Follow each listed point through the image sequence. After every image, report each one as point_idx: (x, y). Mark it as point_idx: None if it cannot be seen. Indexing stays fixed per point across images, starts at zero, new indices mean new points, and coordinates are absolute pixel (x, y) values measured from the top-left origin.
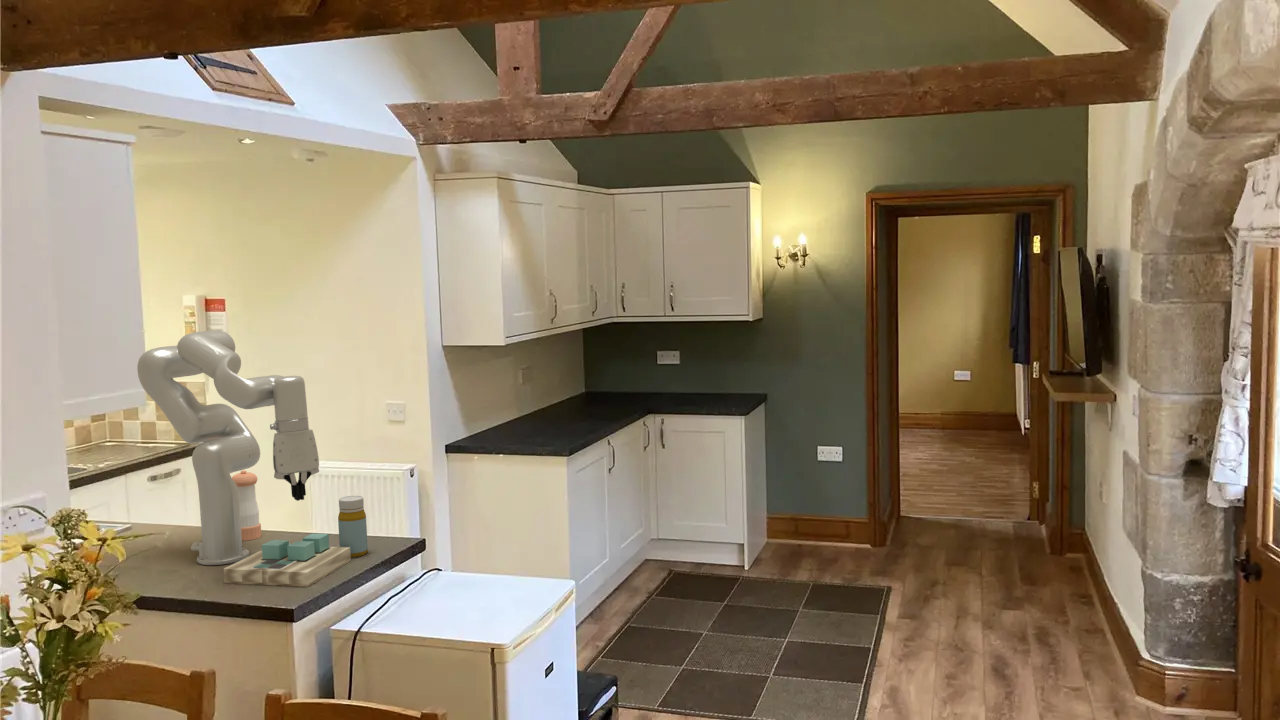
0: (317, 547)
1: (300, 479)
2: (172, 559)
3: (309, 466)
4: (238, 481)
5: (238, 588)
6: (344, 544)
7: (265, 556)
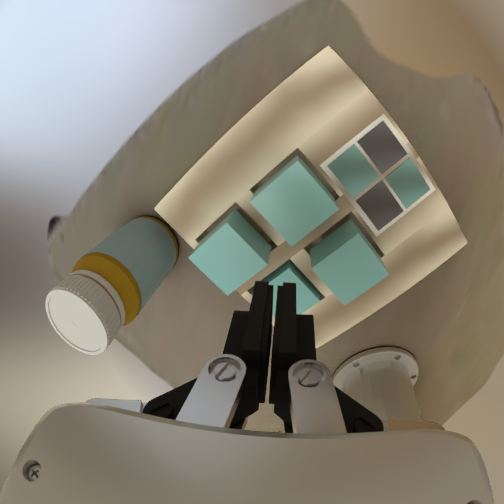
0: (237, 218)
1: (241, 403)
2: (420, 407)
3: (121, 446)
4: None
5: (449, 169)
6: (160, 242)
7: (376, 252)
